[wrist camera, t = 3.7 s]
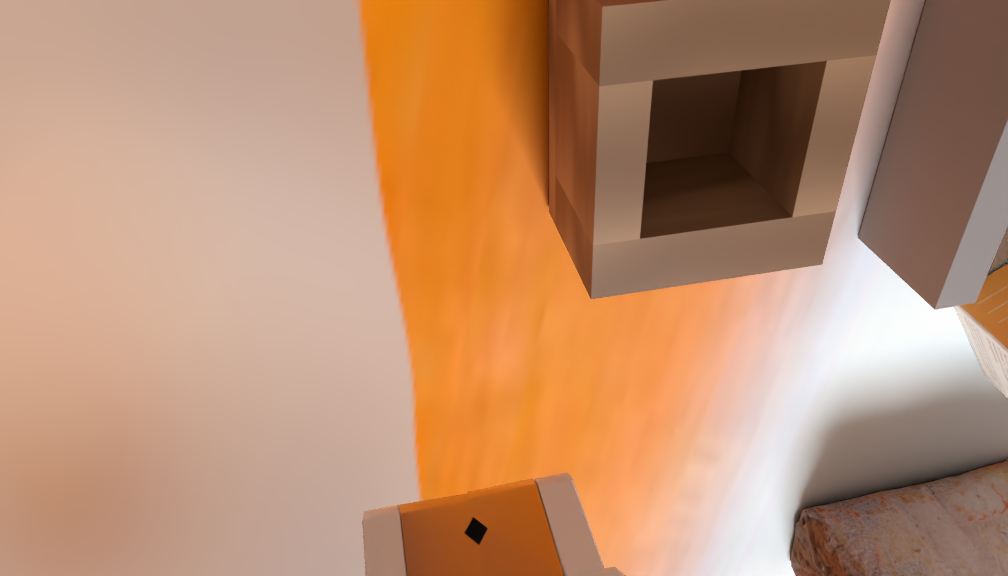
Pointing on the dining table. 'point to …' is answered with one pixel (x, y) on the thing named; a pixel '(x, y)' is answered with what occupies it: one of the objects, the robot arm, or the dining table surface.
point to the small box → (990, 327)
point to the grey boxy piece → (911, 530)
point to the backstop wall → (946, 156)
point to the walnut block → (702, 133)
